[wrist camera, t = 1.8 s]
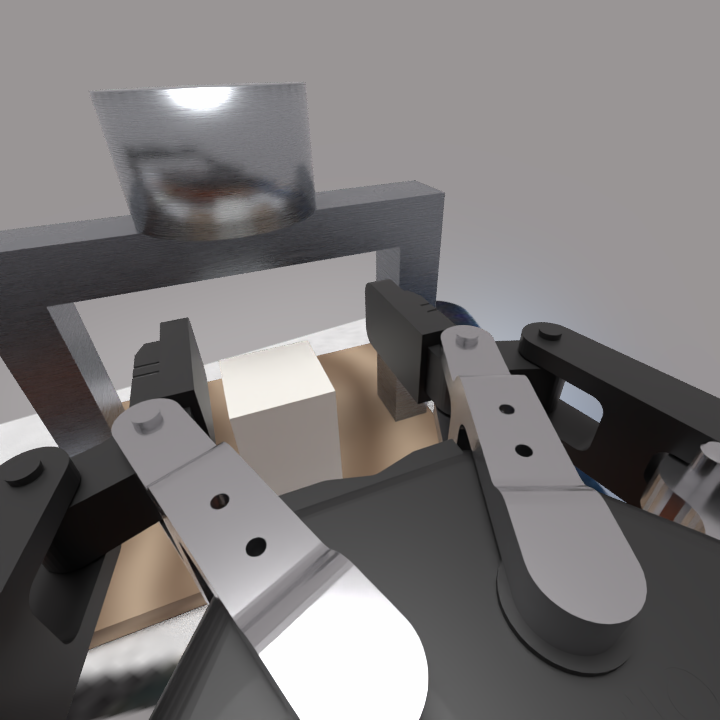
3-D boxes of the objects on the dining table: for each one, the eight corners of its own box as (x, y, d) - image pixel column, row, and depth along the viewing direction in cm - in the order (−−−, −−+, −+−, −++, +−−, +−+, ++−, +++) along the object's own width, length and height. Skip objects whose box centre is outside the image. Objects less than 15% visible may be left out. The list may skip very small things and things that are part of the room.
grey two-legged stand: (94, 548, 27) (-223, 107, 13) (110, 443, 34) (-77, 96, 20) (444, 435, 34) (487, 75, 20) (392, 369, 42) (398, 76, 28)
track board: (82, 651, 23) (71, 640, 22) (116, 416, 39) (110, 405, 39) (486, 496, 31) (489, 483, 30) (376, 352, 47) (376, 341, 46)
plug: (270, 562, 25) (229, 419, 18) (254, 486, 30) (216, 349, 23) (347, 534, 27) (335, 390, 20) (319, 465, 31) (302, 330, 25)
